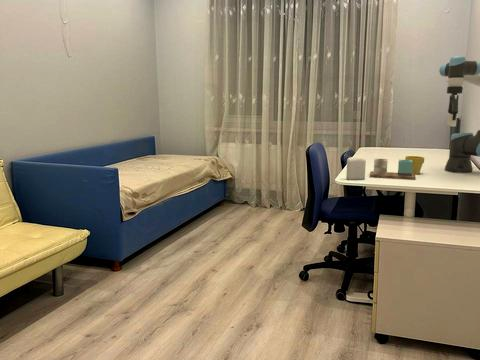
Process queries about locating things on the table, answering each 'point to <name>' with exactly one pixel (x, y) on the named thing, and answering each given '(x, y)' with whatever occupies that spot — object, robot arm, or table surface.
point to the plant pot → (416, 163)
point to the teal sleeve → (405, 167)
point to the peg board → (381, 171)
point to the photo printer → (356, 168)
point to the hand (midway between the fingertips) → (451, 125)
